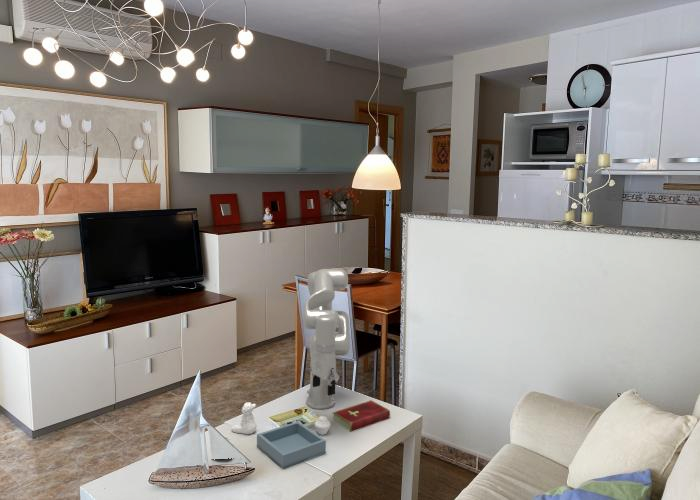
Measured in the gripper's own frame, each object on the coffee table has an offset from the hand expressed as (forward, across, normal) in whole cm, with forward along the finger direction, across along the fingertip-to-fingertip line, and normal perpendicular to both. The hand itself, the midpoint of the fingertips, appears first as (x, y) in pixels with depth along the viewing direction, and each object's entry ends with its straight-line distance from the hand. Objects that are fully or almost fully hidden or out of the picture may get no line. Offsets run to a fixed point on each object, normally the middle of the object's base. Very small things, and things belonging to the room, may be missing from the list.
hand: (323, 390), depth 206 cm
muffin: (+18, 0, 0) cm, 18 cm away
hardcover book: (+18, 0, +20) cm, 27 cm away
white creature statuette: (+18, -18, -23) cm, 34 cm away
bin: (+18, +4, -17) cm, 25 cm away
